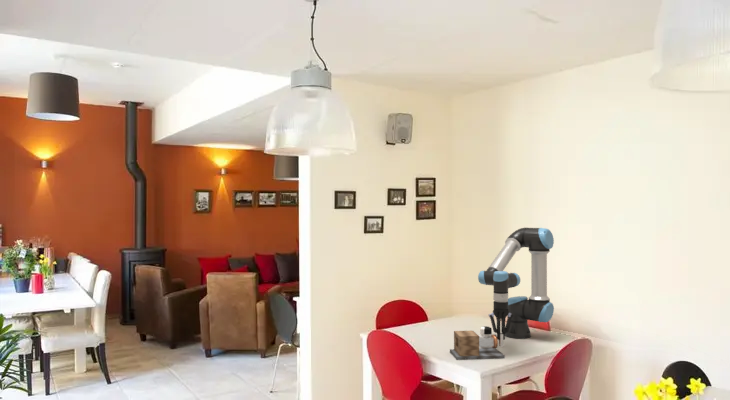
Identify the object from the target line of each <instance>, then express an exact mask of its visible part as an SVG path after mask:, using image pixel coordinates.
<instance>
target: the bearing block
mask: <svg viewBox="0 0 730 400" xmlns="http://www.w3.org/2000/svg"><path fill="white" fill-rule="evenodd" d="M479 335H480V334H478V333H476V332H475V331H474V330H454V331H453V348H452V349H451V348H450V349H449V353H450V354H451V355H452V356H453V358H455V360H456V361H458V360H459V361H462V360H464V361H465V360H466V361H467V360H493V359H494V360H496V359H497V360H498V359H505V357H506V356H505V354H504V353H502V352H501V351H500V350H499V349H497V348H483V349H479Z"/></svg>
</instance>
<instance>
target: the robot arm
mask: <svg viewBox="0 0 730 400" xmlns="http://www.w3.org/2000/svg"><path fill="white" fill-rule="evenodd" d="M554 243H555V240H554V236H553V233H552V231H551V230H550V229H549V228H546V227H521V228H518V229H517V230H515V231H513V232H512V233H510V234H509V236H508V237H507V238H506V239H505V241H504V245H503V247H502V248H501V250H500V251H499V252H498V253H497V254H496V257H495V258H494V259H493V260H492V262H491V263H490V264H489V266H488V268H487V269H486V270H481V271H479V272H478V275H477V279H478V282H479V283H480V284H481V285H484V286H493V296H492V297H493V310H492V312H491V313H489V314H488V317H489V318H490V323H491V326H492V327H491V328H492V330H493V331H492V332H494V333H496V336H497V339H498V347H500V348H502V347H503V348H504V340H505V339H506V337H507V338H510V339H511V338H512V339H520V340H522V339H528V338H531V335H532V334H531V333H532V332H531V330H530V326H529V322H528V321H534V322H538V323H548V322H550V320H551V319H552V318H553V315H554V312H555V310H554V309H555V308H554V304H553V302H551V301H550V297H549V296H548V273H547V272H548V254H549V253H550V250H551V249H553V247H554ZM522 248H528V252H529V253H530V254H531V256H530V257H531V259H530V260H531V267H530V268H531V273H530V274H531V275H530V276H531V277H530V279H531V282H530V283H531V285H530V286H531V288H530V289H531V293H530V294H531V295H530V296H529V297H527V296H523V295H521V296H520V295H519V296H512V297H509V289H512V288H515V287H517V286H518V287H519V286H520V284H521V277H520V275H519V274H518V273H516V272H510V273H509V272H508V271H505V269H506V267H507V266H508V264H509V263H510V261H511V260H513V257H514V256H515V254H516V253H517V252H519V251H520V250H521V249H522ZM494 317H495V318H496V319H495V318H494ZM495 320H496V321H495Z"/></svg>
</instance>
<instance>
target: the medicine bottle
mask: <svg viewBox="0 0 730 400" xmlns="http://www.w3.org/2000/svg"><path fill="white" fill-rule="evenodd" d="M479 329H480V331H479V333H480V334H478V335H479V337H491V335H493V333H492V332H493V331H492V330H493V328H492V327H490V326H481V327H480V328H479ZM483 348H492V346H485V347H479V349H483Z"/></svg>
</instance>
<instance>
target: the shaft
mask: <svg viewBox="0 0 730 400" xmlns="http://www.w3.org/2000/svg"><path fill="white" fill-rule="evenodd" d="M485 346H492V348H496V349H497V348H498V347H499V340H498V339H497V334H493V333H492V335H491V337H479V347H485Z"/></svg>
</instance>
